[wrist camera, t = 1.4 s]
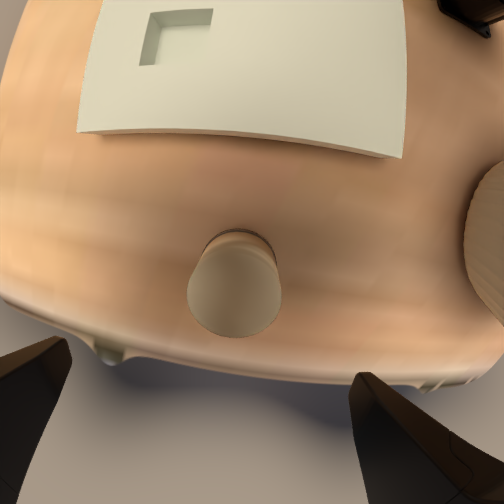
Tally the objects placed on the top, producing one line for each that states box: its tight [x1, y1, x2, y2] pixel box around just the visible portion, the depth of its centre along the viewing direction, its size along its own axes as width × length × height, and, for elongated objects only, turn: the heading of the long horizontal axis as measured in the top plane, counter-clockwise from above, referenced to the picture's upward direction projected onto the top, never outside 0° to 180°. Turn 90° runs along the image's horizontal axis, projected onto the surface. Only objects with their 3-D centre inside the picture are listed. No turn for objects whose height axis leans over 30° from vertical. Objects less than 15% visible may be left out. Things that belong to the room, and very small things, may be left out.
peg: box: [187, 229, 282, 338], centre depth 17 cm, size 5×5×7 cm
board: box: [76, 0, 407, 159], centre depth 14 cm, size 20×12×4 cm, turn 84°
